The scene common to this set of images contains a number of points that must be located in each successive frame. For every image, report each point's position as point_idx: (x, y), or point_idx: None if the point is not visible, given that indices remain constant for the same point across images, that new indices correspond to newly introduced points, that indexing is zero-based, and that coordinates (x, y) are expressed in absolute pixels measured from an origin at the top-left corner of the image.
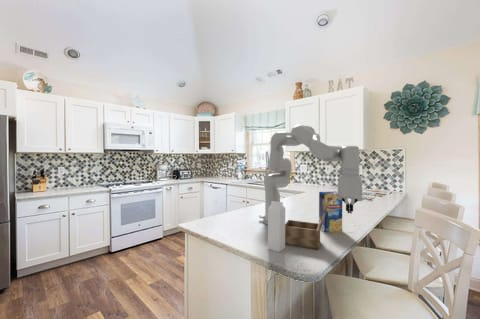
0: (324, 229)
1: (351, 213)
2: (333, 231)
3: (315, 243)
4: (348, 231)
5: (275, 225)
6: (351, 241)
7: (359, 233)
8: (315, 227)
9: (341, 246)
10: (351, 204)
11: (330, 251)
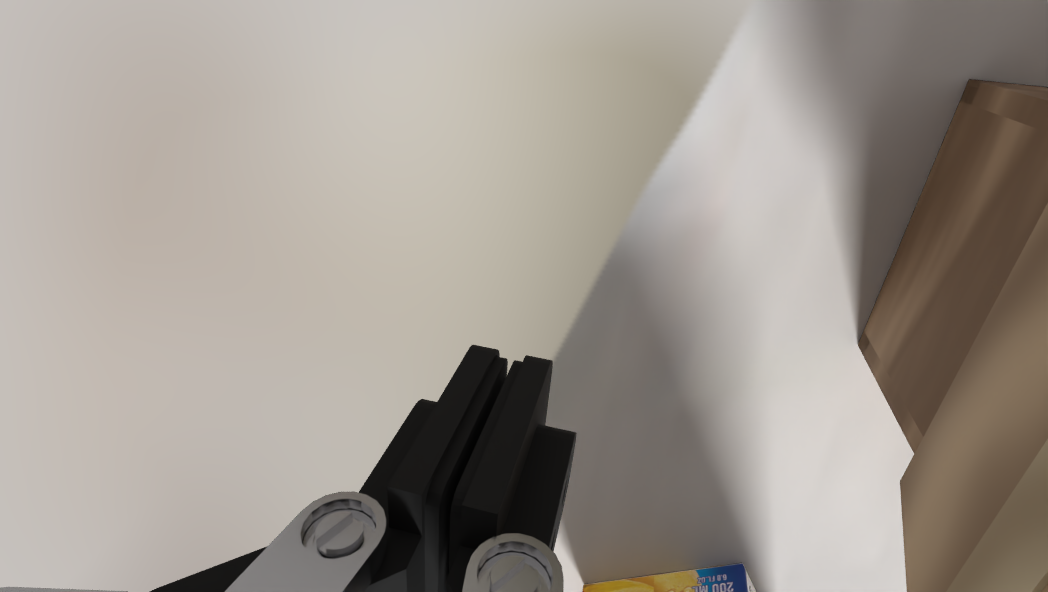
0: (746, 584)
1: (474, 345)
2: (658, 574)
3: (1044, 93)
4: None
5: None
6: None
7: None
8: None
9: (658, 257)
10: (388, 531)
11: (813, 86)
